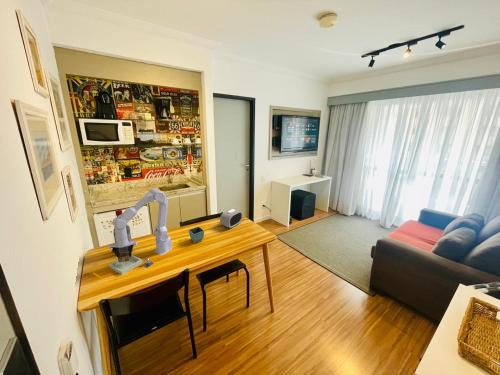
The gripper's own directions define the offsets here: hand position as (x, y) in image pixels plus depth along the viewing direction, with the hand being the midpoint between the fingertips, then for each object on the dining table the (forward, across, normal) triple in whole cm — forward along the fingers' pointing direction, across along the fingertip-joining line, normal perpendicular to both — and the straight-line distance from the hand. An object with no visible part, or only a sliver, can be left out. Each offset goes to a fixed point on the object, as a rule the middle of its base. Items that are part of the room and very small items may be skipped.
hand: (124, 256), depth 123 cm
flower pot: (+6, -43, -19) cm, 47 cm away
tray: (+6, 0, 0) cm, 6 cm away
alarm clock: (+6, -74, -39) cm, 84 cm away
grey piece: (+6, -12, +2) cm, 14 cm away
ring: (+1, 0, 0) cm, 1 cm away
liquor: (+6, +5, -17) cm, 18 cm away
